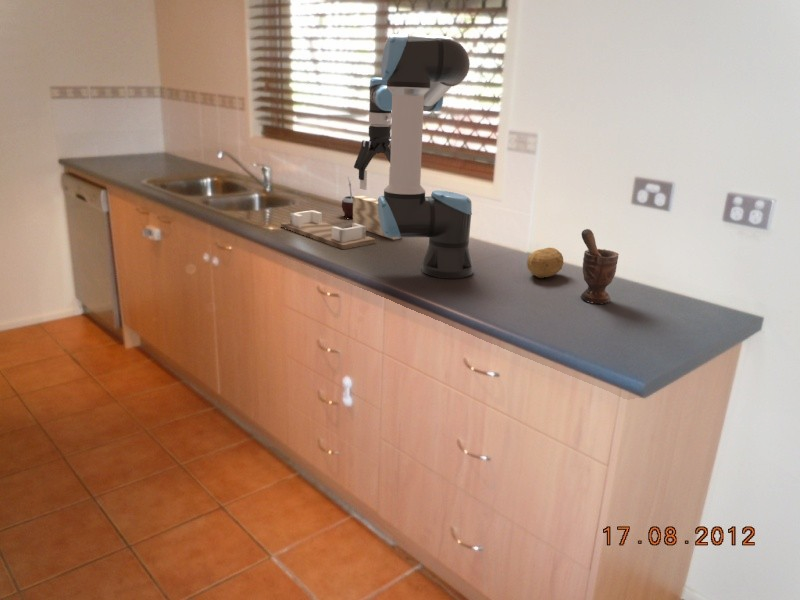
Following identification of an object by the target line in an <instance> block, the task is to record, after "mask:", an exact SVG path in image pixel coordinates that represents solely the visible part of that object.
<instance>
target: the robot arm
mask: <svg viewBox="0 0 800 600" xmlns="http://www.w3.org/2000/svg"><path fill="white" fill-rule="evenodd" d="M470 64H471V63H470V57H469V55H468V53H467V50H466V49H465V48H464V46H463V45H462V44H461V43H460V42H458V41H457V40H455V39H454V38H452V37H448V36H445V35H426V34H415V33H414V34H412V33H398V34H397V33H396V34H392V35H390V36H389V37H388V38H387V40H386V41H385V44H384V48H383V53H382V57H381V65H380V71H381V72H380V77H372V78H371V79H370V82H369V89H368V90H369V111H368V124H369V126H368V137H369V140H364V139H363V140H362V141H361V147H360V148H359V149H360V150H359V152H358V155H357V157H356V160H355V162H354V165H353V168H354V169H357V170H358V180H359V189H360V190H364V191H365V190H366V191H367V188H368V187H367V185H368V184H367V183H368V182H367V181H368V179H367V178H368V176H367V175H368V170H366V169H367V167H368V166H369V164H370V162H371V161H372V159H373V158H374V156H375V155H377V154H384V157H385V158H386V160H387V161H388V163H389V164H390V165H389V170H388V171H389V172H388V173H389V174H388V185H387V186H386V187H385V188H384V189H383V195H380V196H379V197H378V199H377V200H378V213H379V220H380V225H381V229H382V232H383V234H384V235H385V236H387V237H395V238H401V239H403V238H404V239H405V238H407V239H408V238H411V239H412V238H428V247H427V249H426V252H425V253H424V255H423V256H424V257H423V259H422V262H421V272H422V273H423V274H426V275H428V276H431V277H435V278H440V279H463V278H467V277H469V276H472V275H473V270H474V263H473V259H472V257H471V252H470V249H469V248H470V235H471V234H470V233H471V232H470V231H471V220H472V219H471V218H472V215H473V213H472V200H471V199H470V198H469V197H468V196H466V195H465V194H461V193H457V192H454V191H447V190H432V192H431V193H430V195H431V196H426V189H425V188H424V187H423V186H422V185H421V174H422V173H421V172H422V170H421V169H422V154H423V153H422V152H423V151H422V150H423V128H424V127H423V126H424V112H430V113H432V112H439V111H440V110H442V106H443V104H444V95H445V94H446V93H447V92H448V91H449V90H450V89H452V87H455V86H458V85H459V84H461V83H462V82H463V81H464V80H465V79H466V77H467V76H468V74H469V70H470V66H471V65H470ZM390 125H391V126H390ZM387 237H386V238H387Z"/></svg>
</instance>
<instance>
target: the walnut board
mask: <svg viewBox="0 0 800 600" xmlns="http://www.w3.org/2000/svg"><path fill="white" fill-rule="evenodd" d="M335 226H336V225H334V224H330V223H327V222H324V221H322V224H316V223H313V222H310V223H303V227H297V226H294V225H291V224H290V221H289V222H281V223H280V228H281V227H284V228H286V229H285V230H287V229H288V230H287V231H289V230H291V231H290V232H292V231H293V232H292V233H295V232H296V233H295V234H298V233H299V234H298V235H301V236H303V235H304V237H306V236H307V237H306V238H309V237H310V239H312V238H313V240H315V239H316V240H315V241H318V240H319V241H318V242H320V241H321V243H323V242H324V243H323V244H326V243H327V244H326V245H329V244H330V245H329V246H332V245H333V246H332V247H334V246H335V248H337V247H338V249H340V248H341V250H347V248H348V249H352V247H354V248H358V246H359V247H362V246H368V245H374V244H376V243H377V240H376V239H377V238H374V237H371V236H369V235H368V236H367V235H366V237H365V238H362V239H357V240H351V241H346V242H340V241H337V240H334V239H332V227H335ZM336 227H339V228H342V229H344V228H343V227H340V226H336ZM284 228H283V229H284Z"/></svg>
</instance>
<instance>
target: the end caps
mask: <svg viewBox="0 0 800 600" xmlns="http://www.w3.org/2000/svg"><path fill="white" fill-rule="evenodd" d="M289 222H290V224H291V225H294V226H297V227H303V223H310V222H313V223H316V224H322V222H323V213H322V212H320V211H318V210H314V209H313V210H312V209H311V210H305V211H297V212H290V213H289ZM334 226H335V227H332V239H334V240H337V241H340V242H346V241H351V240H357V239H362V238H365V237H366V236H367V235H366V234H367V233H366V232H367V230H366V226H363V225H360V224H357V223H353V222H352V223H351V227H346V228H343V227H340V226H337V227H336V225H334ZM339 227H340V228H339ZM342 228H343V229H342Z"/></svg>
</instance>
